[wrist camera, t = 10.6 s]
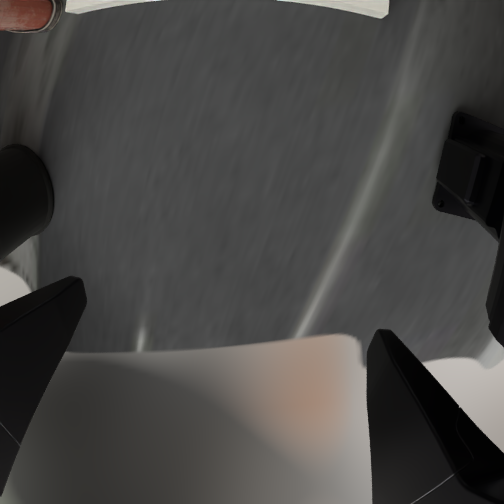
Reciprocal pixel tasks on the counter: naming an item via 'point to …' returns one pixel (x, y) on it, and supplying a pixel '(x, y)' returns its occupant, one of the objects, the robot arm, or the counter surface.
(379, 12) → the bracket board
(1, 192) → the aerosol can
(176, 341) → the counter surface
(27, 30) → the lighter
